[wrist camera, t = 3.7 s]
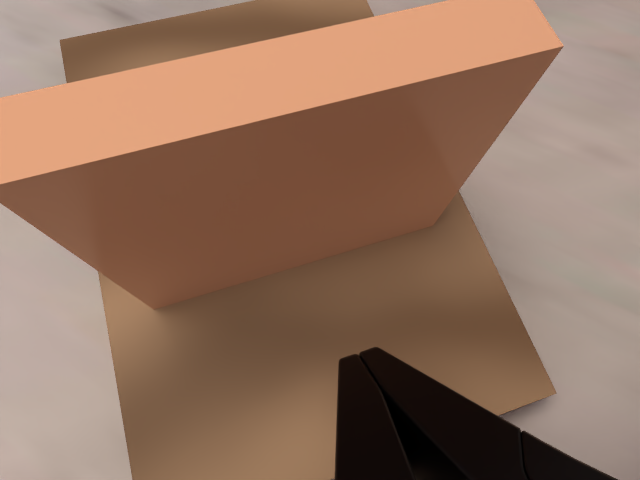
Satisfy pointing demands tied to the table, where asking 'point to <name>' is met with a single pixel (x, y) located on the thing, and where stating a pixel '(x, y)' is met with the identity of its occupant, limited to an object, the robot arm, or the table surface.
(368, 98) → the tile
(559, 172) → the table surface
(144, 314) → the board
